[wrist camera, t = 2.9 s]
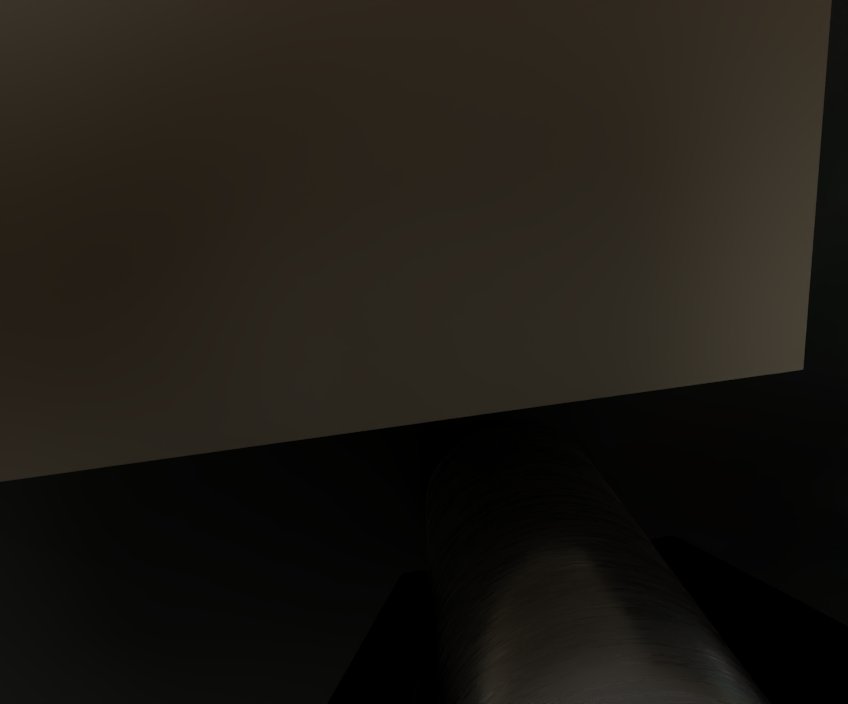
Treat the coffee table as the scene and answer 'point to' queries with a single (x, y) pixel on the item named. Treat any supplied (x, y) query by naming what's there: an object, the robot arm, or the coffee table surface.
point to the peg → (558, 587)
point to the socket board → (390, 212)
